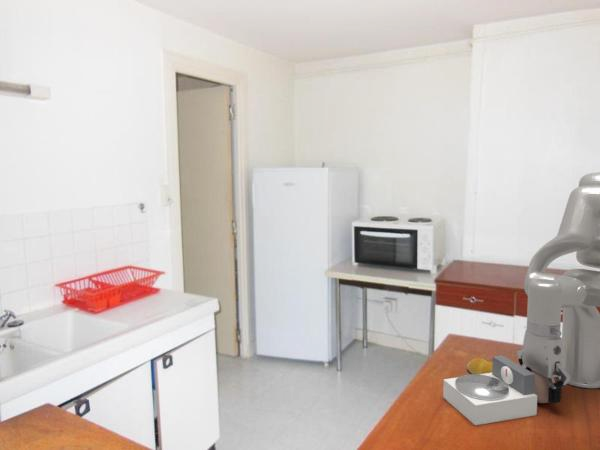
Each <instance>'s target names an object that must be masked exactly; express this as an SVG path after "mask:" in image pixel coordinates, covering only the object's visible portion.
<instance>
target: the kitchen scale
mask: <svg viewBox="0 0 600 450" xmlns="http://www.w3.org/2000/svg"><path fill="white" fill-rule="evenodd" d="M492 362H493V366H492V373H485V374H480V375H486V376H490V377H494V378H496V379H499V380H501V381H502V382H504V383H505V384H506V385H507V386H508V388H509V394H508V396H507V397H506V398H504V399H501V400H494V401H487V400H479V399H475V398H471V397H468V396H466V395H464V394H462V393H461V392H459V391H458V390H457V389H456V387H455V381H456V379H457V378H458V377H459V376H458V377H450V378H444V379H443V386H442V387H443V392H442V394H443V396H442V397H443V399H444V400H446V401H447V402H448V403H449V404H451V406H453V408H455V409H456V410H457V411H458V412H459V413H461V415H463V416H464V417H465V418H466V419H467V420H469V422H470V423H472V424H473V425H474V426H481V425H485V424H491V423H497V422H502V421H503V422H504V421H509V420H510V421H511V420H514V419H521V418H526V417H527V418H529V417H533V416H537V415H538V414H537V413H538V411H537V410H538V402H537V395H536V394H534V388H535V374H534V373H532V372H530V371H529V370H527V369H525V368H523V367H522V366H521V365H520V364H518V363H516V362H515V361H513V360H511V359H510V358H509V357H506V356H505V355H496V356H494V355H493V356H492Z"/></svg>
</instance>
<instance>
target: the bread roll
mask: <svg viewBox="0 0 600 450" xmlns="http://www.w3.org/2000/svg"><path fill="white" fill-rule="evenodd" d="M492 366H493V361H487V360H486V359H484V358H482V357H476V358H473V359H472V360H471V361H469V362H468V363H467V366H466V368H467V370H468V371H469V373H470V374H485V373H492Z"/></svg>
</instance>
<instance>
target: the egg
mask: <svg viewBox="0 0 600 450" xmlns="http://www.w3.org/2000/svg"><path fill="white" fill-rule="evenodd" d="M532 373H534V374H535V388H534V394H536V395H537V404H538V403H539V404H547V403H549V402H548V394H549V387H551V385H550V383H549V381H548V378H547V377H545V376H543V375H541V374H539V373H538V372H536V371H534V370H533V371H532ZM553 380H554V382H555V381H556V380H555V378H553ZM555 383H556V382H555Z"/></svg>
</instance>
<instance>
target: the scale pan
mask: <svg viewBox="0 0 600 450" xmlns="http://www.w3.org/2000/svg"><path fill="white" fill-rule="evenodd" d="M456 378H457V377H456ZM455 387H456V389H457V390H458V391H459V392H461V393H462V394H464V395H466V396H468V397H471V398H475V399H479V400H487V401H494V400H501V399H504V398H506V397H507V396H508V394H509V388H508V386H507V385H506V384H505V383H504V382H502V381H501V380H499V379H496V378H494V377H490V376H486V375H480V374H472V373H469V374H463V375H461V376H458V378H457V379H456V381H455Z"/></svg>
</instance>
